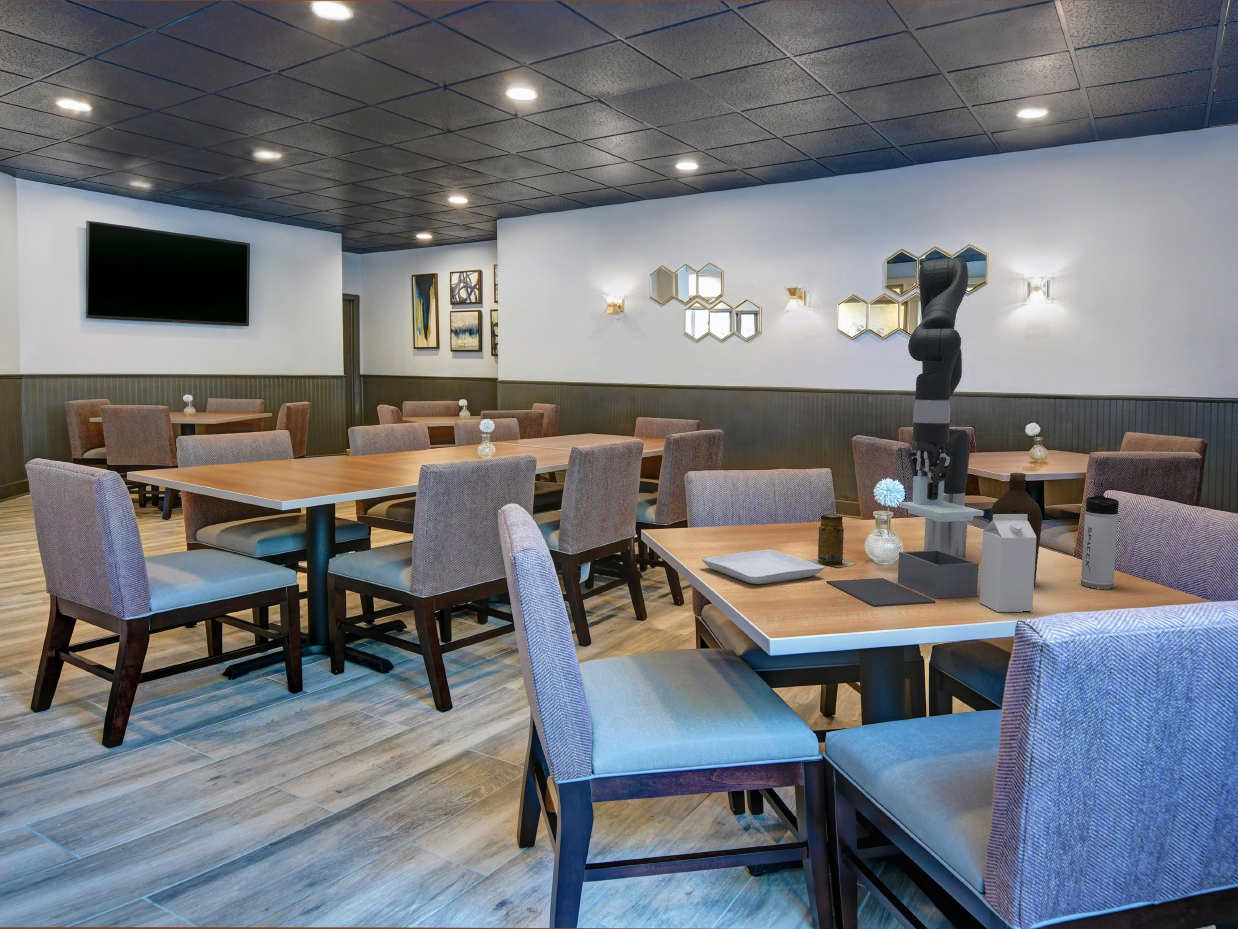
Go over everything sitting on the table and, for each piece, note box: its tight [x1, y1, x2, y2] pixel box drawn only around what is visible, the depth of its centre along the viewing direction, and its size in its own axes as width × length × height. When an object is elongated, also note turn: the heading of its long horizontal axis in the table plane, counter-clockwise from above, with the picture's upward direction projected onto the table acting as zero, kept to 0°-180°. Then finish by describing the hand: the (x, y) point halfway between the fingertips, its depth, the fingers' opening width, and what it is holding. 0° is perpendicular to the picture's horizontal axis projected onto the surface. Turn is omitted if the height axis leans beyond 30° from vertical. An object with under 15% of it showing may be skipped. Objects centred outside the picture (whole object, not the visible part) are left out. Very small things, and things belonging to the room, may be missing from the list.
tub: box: [897, 550, 980, 600], centre depth 177 cm, size 14×10×7 cm
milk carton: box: [978, 514, 1036, 613], centre depth 162 cm, size 7×7×19 cm
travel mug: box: [1080, 495, 1120, 590], centre depth 180 cm, size 6×7×20 cm
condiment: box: [810, 513, 855, 568], centre depth 202 cm, size 7×8×12 cm
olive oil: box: [989, 472, 1043, 587], centre depth 182 cm, size 11×11×25 cm
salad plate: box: [700, 549, 826, 585], centre depth 191 cm, size 21×21×3 cm
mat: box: [826, 577, 936, 608], centre depth 174 cm, size 14×20×1 cm
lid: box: [898, 476, 985, 522], centre depth 175 cm, size 15×11×8 cm
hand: (928, 498), depth 180 cm, fingers closed on lid, 2 cm apart
